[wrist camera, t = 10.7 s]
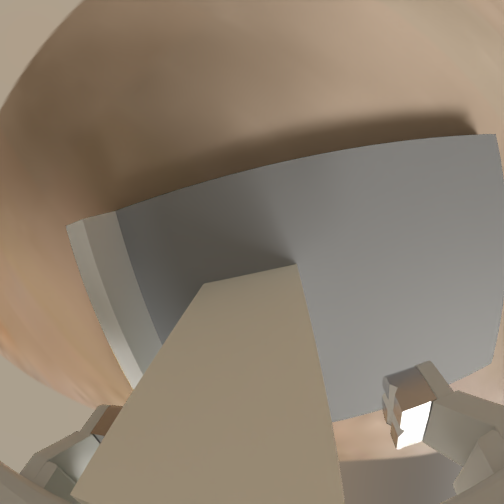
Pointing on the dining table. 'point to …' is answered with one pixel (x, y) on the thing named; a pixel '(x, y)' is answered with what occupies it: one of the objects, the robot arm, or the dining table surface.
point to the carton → (226, 408)
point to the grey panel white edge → (322, 258)
